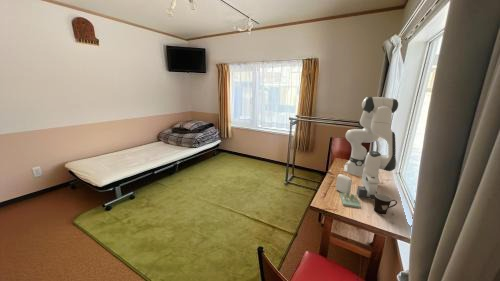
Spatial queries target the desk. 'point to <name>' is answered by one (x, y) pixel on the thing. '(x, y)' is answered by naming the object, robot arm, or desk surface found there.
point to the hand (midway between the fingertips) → (366, 193)
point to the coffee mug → (382, 203)
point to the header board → (350, 200)
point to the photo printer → (343, 184)
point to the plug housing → (363, 193)
